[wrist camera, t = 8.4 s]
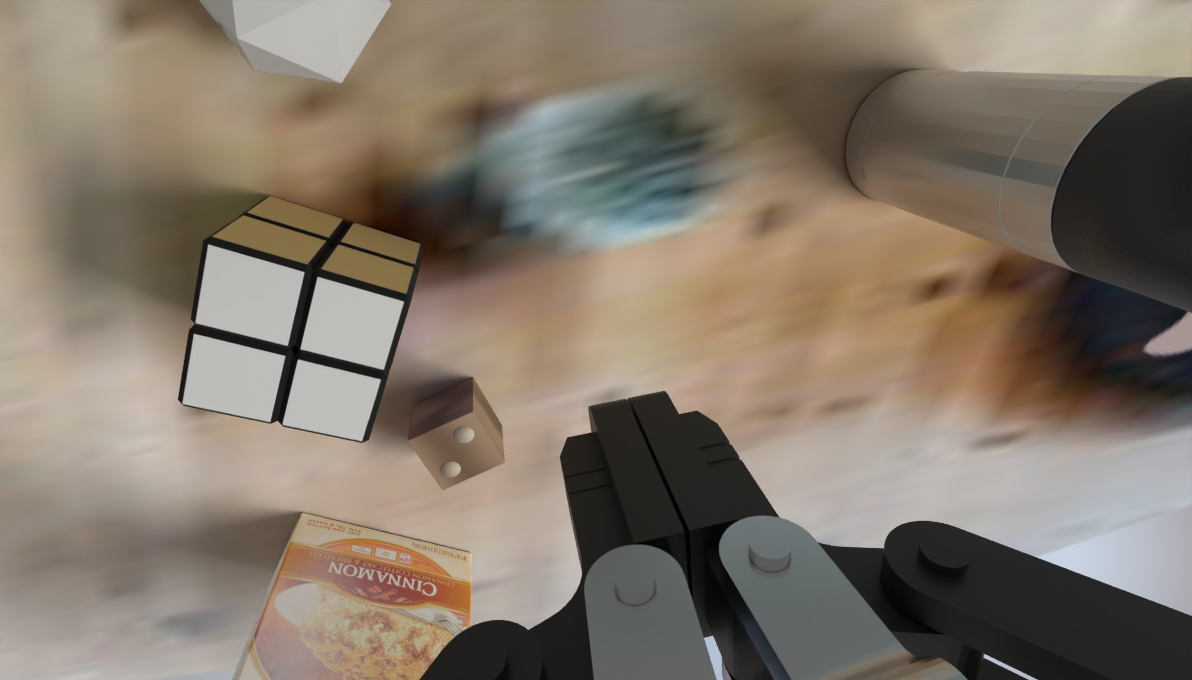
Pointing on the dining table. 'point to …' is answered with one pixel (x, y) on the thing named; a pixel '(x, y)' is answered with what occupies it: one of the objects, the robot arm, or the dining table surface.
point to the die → (299, 33)
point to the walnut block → (456, 434)
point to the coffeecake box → (357, 606)
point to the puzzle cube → (297, 319)
